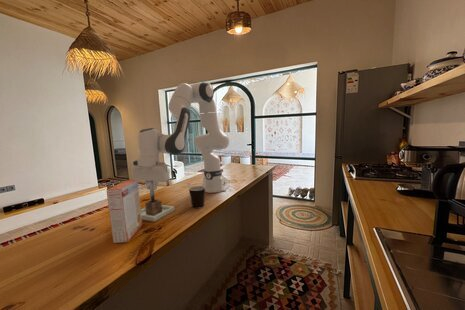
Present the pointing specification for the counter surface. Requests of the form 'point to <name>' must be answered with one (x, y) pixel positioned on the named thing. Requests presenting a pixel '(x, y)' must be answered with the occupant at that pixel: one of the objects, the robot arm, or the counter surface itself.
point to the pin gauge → (152, 196)
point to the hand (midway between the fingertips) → (151, 189)
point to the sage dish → (165, 211)
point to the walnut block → (153, 207)
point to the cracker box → (124, 210)
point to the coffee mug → (197, 196)
